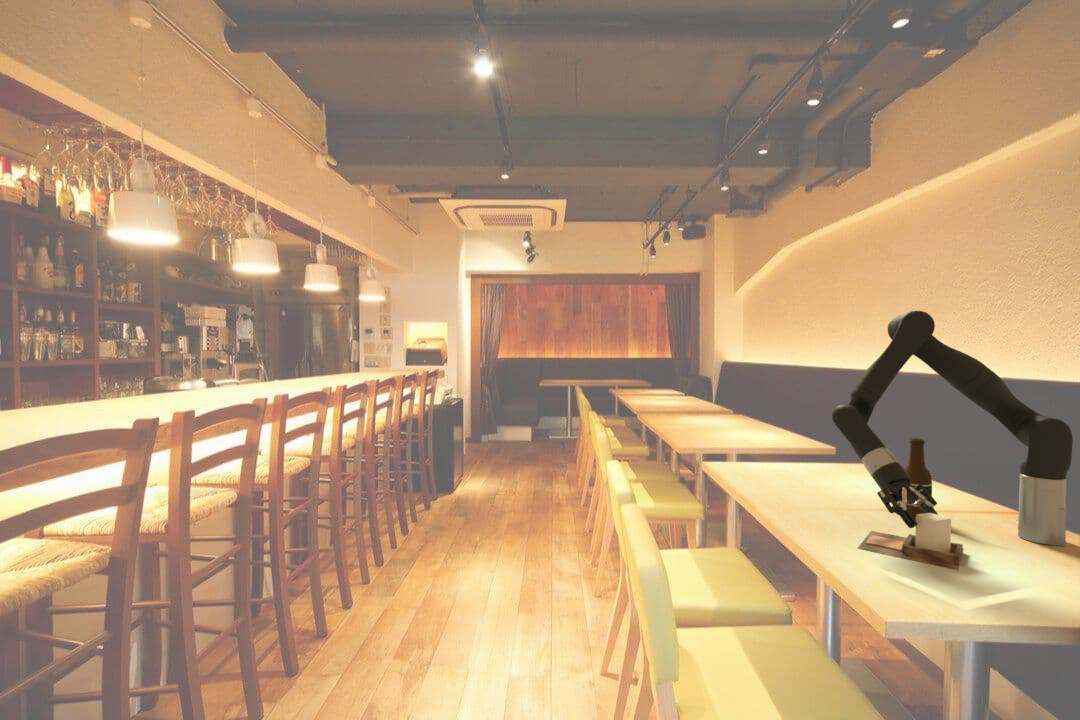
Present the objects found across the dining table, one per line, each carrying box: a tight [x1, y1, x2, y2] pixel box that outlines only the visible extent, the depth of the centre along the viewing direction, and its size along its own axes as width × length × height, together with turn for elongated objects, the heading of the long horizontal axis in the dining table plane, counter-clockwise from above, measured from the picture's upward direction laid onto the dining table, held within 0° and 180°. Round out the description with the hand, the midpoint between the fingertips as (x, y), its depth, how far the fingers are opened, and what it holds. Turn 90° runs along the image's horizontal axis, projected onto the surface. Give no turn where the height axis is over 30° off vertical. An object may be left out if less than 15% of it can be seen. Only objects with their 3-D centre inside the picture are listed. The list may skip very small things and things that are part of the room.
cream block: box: [914, 513, 952, 554], centre depth 133 cm, size 5×5×9 cm
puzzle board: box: [856, 530, 964, 571], centre depth 136 cm, size 20×18×3 cm
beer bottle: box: [904, 438, 933, 521], centre depth 165 cm, size 8×8×24 cm
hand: (926, 525), depth 135 cm, fingers open, 8 cm apart
